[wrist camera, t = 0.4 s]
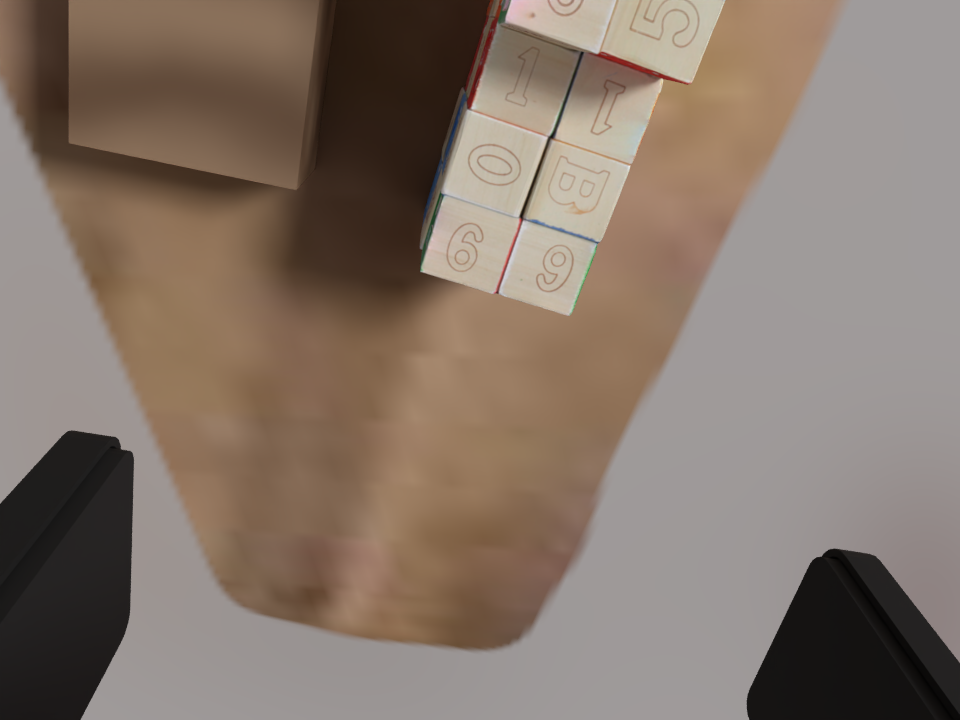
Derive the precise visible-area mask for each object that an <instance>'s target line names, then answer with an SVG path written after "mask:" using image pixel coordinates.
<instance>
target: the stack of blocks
mask: <svg viewBox="0 0 960 720" xmlns="http://www.w3.org/2000/svg"><path fill="white" fill-rule="evenodd" d="M724 2H725V0H490V3H489V6H488V9H487V12H486V21H485V24H484V27H483V30H482V33H481V36H480V39H479V43H478V46H477V49H476V53H475V56H474V59H473V62H472V65H471V69H470V72H469V75H468V78H467V81H466V86H465V87H462V88H461V90H460V94H459V97H458V100H457V103H456V106H455V110H454V113H453V116H452V119H451V122H450V125H449V129H448V132H447V135H446V138H445V141H444V145H443V148H442V155H441V159H440V162H439V165H438V168H437V171H436V174H435V178H434V181H433V184H432V187H431V191H430V194H429V197H428V201H427V204H426V207H425V211H424V219H423V225H422V230H421V238H420V249H421V250H422V255H421V263H420V272H423V273H426V274H429V275H433V276H436V277H439V278H442V279H446V280H449V281H452V282H456V283H459V284H463V285H466V286H469V287H472V288H475V289H478V290H481V291H485V292H488V293H491V294H495V293H498V294H500V295H503V296H505V297H509V298H512V299H515V300H518V301H521V302H524V303H528V304H531V305H535V306H539V307H542V308H544V309H547V310H551V311H554V312H557V313H561V314H564V315H568V316H569V315H571V313H572V311H573V310H574V307H575V304H576V301H577V299H578V296H579V294H580V291H581V289H582V286H583V283H584V281H585V278H586V276H587V273H588V271H589V269H590V266H591V263H592V261H593V257H594V255H595V252H596V248H597V244H598V243H599V242H601V240H602V238H603V236H604V234H605V231H606V228H607V226H608V223H609V221H610V218H611V216H612V213H613V211H614V208H615V206H616V203H617V201H618V198H619V195H620V193H621V190H622V188H623V185H624V182H625V180H626V178H627V175H628V173H629V170H630V165H631V164H632V162H633V160H634V158H635V156H636V155H637V152H638V149H639V146H640V144H641V142H642V139H643V136H644V134H645V131H646V129H647V126H648V123H649V120H650V118H651V115H652V112H653V110H654V107H655V105H656V102H657V100H658V97H659V94H660V91H661V87H662V84H663V79H666V80H671V81H675V82H680V83H684V84H687V85H688V84H691V83H692V81H693V79H694V77H695V74H696V72H697V69H698V67H699V64H700V62H701V59H702V57H703V54H704V52H705V49H706V47H707V44H708V42H709V39H710V37H711V34H712V32H713V29H714V27H715V24H716V22H717V20H718V17H719V15H720V12H721V10H722V7H723V5H724Z"/></svg>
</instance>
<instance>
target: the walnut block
mask: <svg viewBox="0 0 960 720" xmlns="http://www.w3.org/2000/svg"><path fill="white" fill-rule="evenodd" d="M336 2H337V0H69V143H71V144H75V145H80V146H85V147H90V148H95V149H100V150H104V151H109V152H114V153H119V154H124V155H129V156H133V157H138V158H143V159H148V160H153V161H158V162H162V163H167V164H172V165H177V166H182V167H187V168H191V169H196V170H201V171H206V172H211V173H216V174H220V175H225V176H230V177H235V178H240V179H245V180H249V181H254V182H259V183H264V184H269V185H274V186H278V187H283V188H288V189H293V190H297V189H298V188H299V187H300V186H301V185H302V183H303V182H304V181H305V180H306V179H307V178H308V177H309V175H310V174H311V173H312V172H313V171H314V170H315V165H316V157H317V150H318V142H319V134H320V126H321V119H322V111H323V103H324V95H325V88H326V80H327V72H328V64H329V57H330V49H331V41H332V33H333V26H334V18H335V10H336Z"/></svg>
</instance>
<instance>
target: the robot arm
mask: <svg viewBox="0 0 960 720" xmlns="http://www.w3.org/2000/svg"><path fill="white" fill-rule="evenodd" d="M133 471H134V457H133V453H132V452H131V451H127V450H121V446H120V443H119V440H118V439H117V438H116V437H111V436H105V435H98V434H92V433H84V432H78V431H68V432H66V433H65V434H64V435H63V436H62V437H61V438H60V439H59V440H58V441H57V442H56V443H55V445H54V446H53V447H52V448H51V449H50V450H49V451H48V452H47V453H46V454H45V455H44V457H43V458H42V459H41V460H40V461H39V462H38V463H37V464H36V465H35V466H34V467H33V469H32V470H31V471H30V472H29V473H28V474H27V475H26V476H25V478H23V479H22V481H21V482H20V483H19V484H18V485H17V486H16V487H15V488H14V490H13V491H11V493H10V494H9V495H8V496H7V497H6V498H5V499H4V500H3V501H2V503H1V504H0V720H81V718H82V716H83V714H84V712H85V710H86V708H87V706H88V704H89V702H90V700H91V698H92V697H93V695H94V693H95V691H96V689H97V687H98V685H99V683H100V681H101V679H102V678H103V676H104V674H105V672H106V670H107V668H108V666H109V664H110V662H111V660H112V658H113V657H114V655H115V653H116V651H117V649H118V647H119V645H120V643H121V641H122V639H123V637H124V634H125V631H126V628H127V624H128V620H129V615H130V593H131V552H132V514H133V513H132V512H133ZM747 712H748V717H749V720H960V663H959V662H958V660H957V659H956V658H955V656H954V655H953V654H952V653H951V651H950V650H949V649H948V647H947V646H946V645H945V643H944V642H943V641H942V640H941V639H940V637H939V636H938V635H937V633H936V632H935V631H934V629H933V628H932V627H931V625H930V624H929V623H928V622H927V620H926V619H925V618H924V617H923V615H922V614H921V613H920V611H919V610H918V609H917V607H916V606H915V605H914V604H913V602H912V601H911V600H910V599H909V597H908V596H907V595H906V593H905V592H904V591H903V589H902V588H901V587H900V586H899V584H898V583H897V582H896V580H895V579H894V578H893V577H892V575H891V574H890V573H889V572H888V570H887V569H886V568H885V566H884V565H883V564H882V562H881V561H880V560H879V559H878V558H877V557H876V556H873V555H871V554H866V553H860V552H854V551H846V550H840V549H830V550H828V551H826V552H825V553H824V554H823V556H822V557H817V558H815V559H814V560H813V561H812V562H811V563H810V565H809V567H808V569H807V571H806V573H805V575H804V577H803V580H802V582H801V584H800V586H799V588H798V590H797V592H796V594H795V596H794V598H793V600H792V602H791V605H790V607H789V609H788V611H787V613H786V615H785V617H784V619H783V621H782V623H781V625H780V627H779V629H778V631H777V634H776V636H775V638H774V640H773V642H772V644H771V646H770V648H769V650H768V652H767V655H766V656H765V659H764V661H763V663H762V665H761V667H760V669H759V671H758V674H757V675H756V677H755V679H754V681H753V684H752V686H751V688H750V690H749V693H748V697H747Z"/></svg>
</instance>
